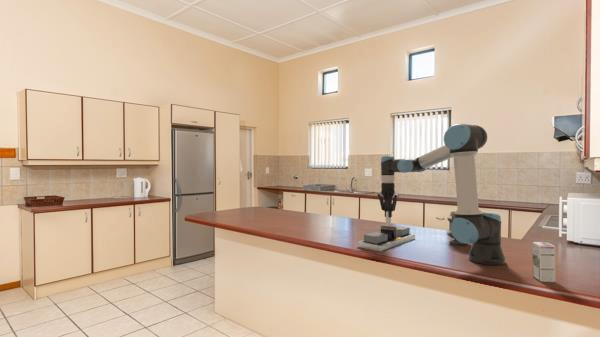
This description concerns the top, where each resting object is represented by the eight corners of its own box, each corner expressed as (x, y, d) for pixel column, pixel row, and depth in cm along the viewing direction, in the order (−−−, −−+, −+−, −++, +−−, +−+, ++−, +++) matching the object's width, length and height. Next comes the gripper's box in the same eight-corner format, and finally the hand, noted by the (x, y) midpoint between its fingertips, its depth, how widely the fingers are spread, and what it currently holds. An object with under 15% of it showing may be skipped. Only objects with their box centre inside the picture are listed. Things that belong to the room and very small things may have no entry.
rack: (415, 238, 202) (415, 227, 202) (380, 251, 174) (380, 238, 174) (394, 235, 212) (394, 224, 212) (358, 246, 184) (358, 234, 184)
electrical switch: (398, 240, 192) (397, 225, 192) (395, 243, 188) (394, 227, 187) (382, 239, 198) (381, 223, 197) (379, 241, 193) (378, 226, 192)
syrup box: (556, 282, 128) (556, 245, 128) (539, 281, 129) (539, 244, 129) (547, 277, 134) (548, 242, 134) (531, 276, 135) (532, 241, 135)
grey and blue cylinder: (469, 241, 194) (469, 211, 194) (470, 246, 183) (470, 214, 183) (447, 240, 199) (447, 210, 199) (446, 244, 188) (446, 213, 188)
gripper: (401, 182, 191) (401, 223, 191) (381, 181, 200) (381, 220, 200) (394, 183, 185) (395, 224, 185) (374, 182, 195) (375, 222, 195)
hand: (388, 222), depth 193 cm, fingers closed
